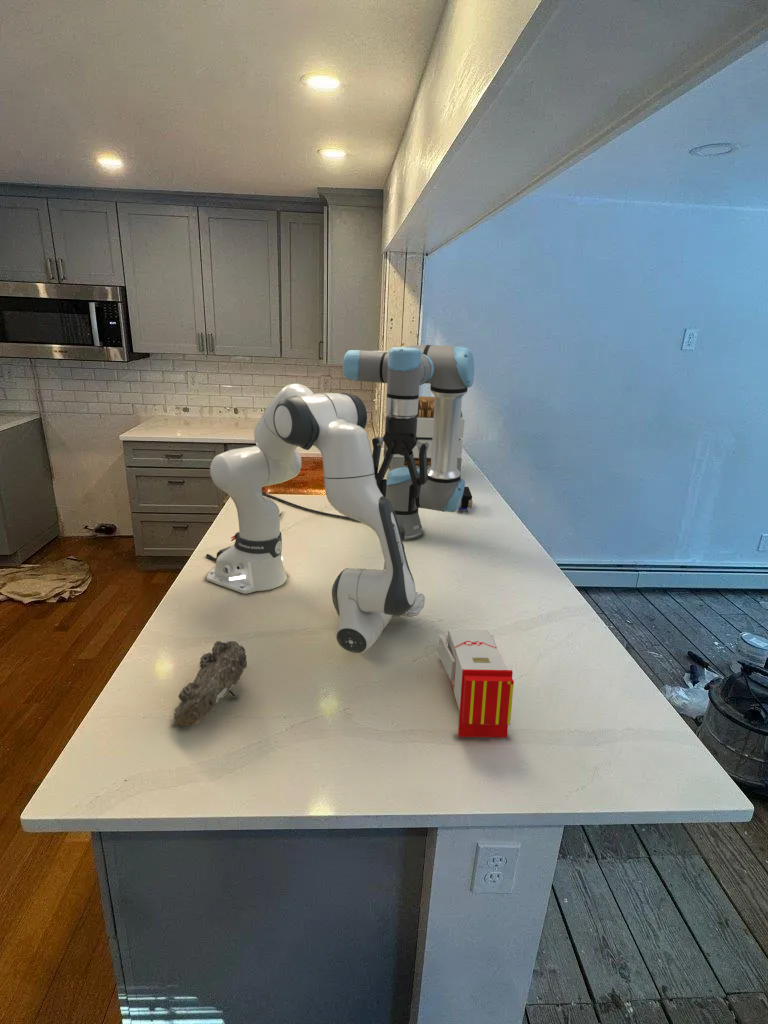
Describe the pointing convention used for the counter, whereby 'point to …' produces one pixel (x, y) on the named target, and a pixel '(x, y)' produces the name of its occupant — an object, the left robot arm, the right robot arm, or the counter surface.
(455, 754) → the counter surface
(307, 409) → the left robot arm
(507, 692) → the toy
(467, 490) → the figurine character
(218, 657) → the fossil
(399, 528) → the cap
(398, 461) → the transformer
